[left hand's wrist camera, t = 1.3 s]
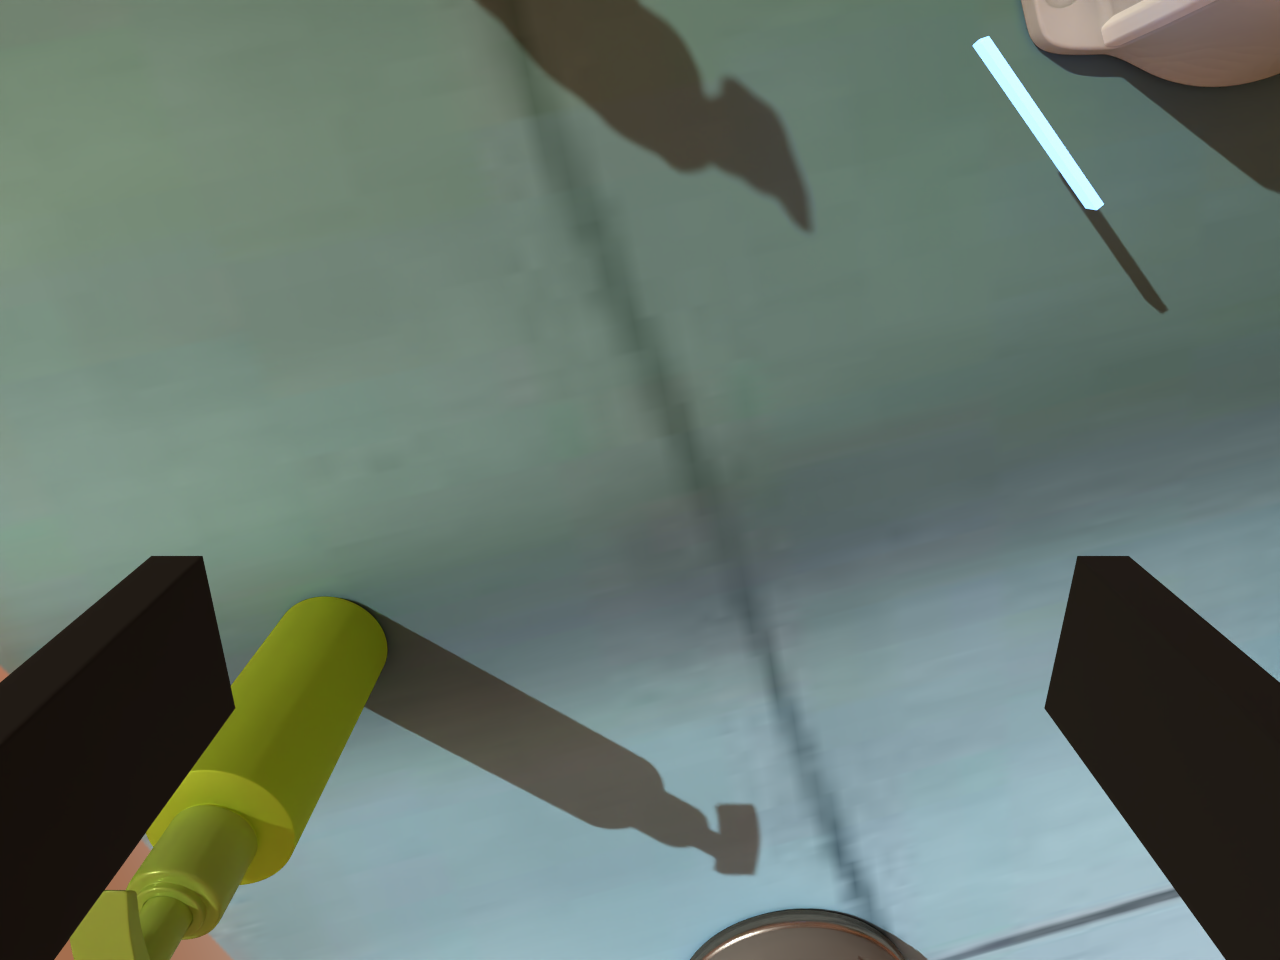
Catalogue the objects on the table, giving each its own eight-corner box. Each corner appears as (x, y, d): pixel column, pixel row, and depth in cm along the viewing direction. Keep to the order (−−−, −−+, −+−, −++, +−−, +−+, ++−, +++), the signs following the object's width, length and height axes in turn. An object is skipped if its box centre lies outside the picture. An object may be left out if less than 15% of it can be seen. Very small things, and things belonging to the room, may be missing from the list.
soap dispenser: (379, 579, 43) (185, 906, 25) (393, 690, 46) (225, 1061, 27) (266, 578, 43) (-13, 904, 25) (286, 688, 46) (46, 1059, 27)
